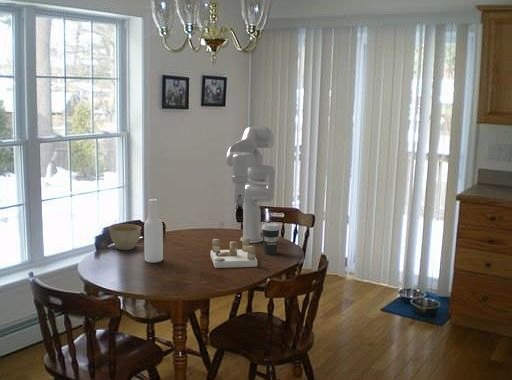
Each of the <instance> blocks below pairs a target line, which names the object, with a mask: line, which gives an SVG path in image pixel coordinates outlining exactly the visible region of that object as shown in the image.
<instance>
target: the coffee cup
mask: <svg viewBox="0 0 512 380" xmlns="http://www.w3.org/2000/svg"><path fill="white" fill-rule="evenodd" d="M261 230H262V238H263V241H262V243H263V253H264V255H267V256H275V255H277V253H278V243H279V235H280V230H281V226H280V224H279V223H274V222H266V223H263V225H262V227H261ZM274 254H275V255H274Z"/></svg>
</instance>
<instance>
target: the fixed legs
mask: <svg viewBox="0 0 512 380" xmlns="http://www.w3.org/2000/svg"><path fill="white" fill-rule="evenodd" d="M241 249H242V251H245V252H248V258H247V259H248V260H255V257H256V246H255V245H251V243H250V239H249V238H243V242H242V248H241ZM212 250H213V252H215V253H216V251H220V250H221V239H220V238H213V239H212Z"/></svg>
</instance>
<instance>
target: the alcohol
mask: <svg viewBox="0 0 512 380" xmlns="http://www.w3.org/2000/svg"><path fill="white" fill-rule="evenodd" d="M143 226H144V227H143V232H144V233H143V235H144V239H143V241H144V243H143V245H144V246H143V247H144V250H143V251H144V260H145V262H147V263H153V264H154V263H160V262H162V260H163V259H164V234H163V233H164V230H163V229H164V225H163V221H162V219H160V217H159V208H158V199H157V198H149V199H148V215H147V219H146V221H144V225H143Z"/></svg>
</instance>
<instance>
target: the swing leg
mask: <svg viewBox="0 0 512 380" xmlns="http://www.w3.org/2000/svg"><path fill="white" fill-rule="evenodd" d="M229 250H230V252H220V251H216V255H217V256H222V255H237V250H238V241H236V240H235V241H233V240H232V241H229Z"/></svg>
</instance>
